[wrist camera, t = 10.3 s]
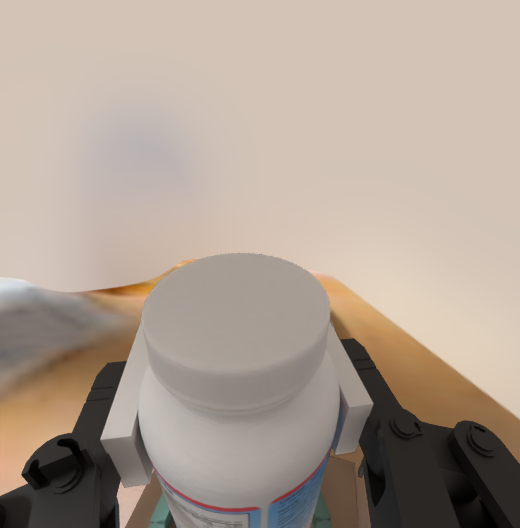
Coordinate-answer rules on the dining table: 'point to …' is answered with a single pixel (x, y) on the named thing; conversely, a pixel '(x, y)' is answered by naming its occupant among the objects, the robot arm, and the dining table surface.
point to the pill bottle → (238, 392)
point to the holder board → (329, 489)
